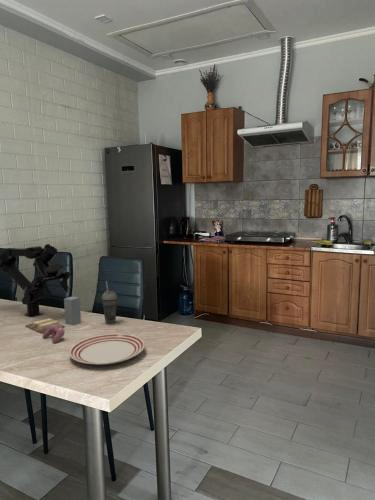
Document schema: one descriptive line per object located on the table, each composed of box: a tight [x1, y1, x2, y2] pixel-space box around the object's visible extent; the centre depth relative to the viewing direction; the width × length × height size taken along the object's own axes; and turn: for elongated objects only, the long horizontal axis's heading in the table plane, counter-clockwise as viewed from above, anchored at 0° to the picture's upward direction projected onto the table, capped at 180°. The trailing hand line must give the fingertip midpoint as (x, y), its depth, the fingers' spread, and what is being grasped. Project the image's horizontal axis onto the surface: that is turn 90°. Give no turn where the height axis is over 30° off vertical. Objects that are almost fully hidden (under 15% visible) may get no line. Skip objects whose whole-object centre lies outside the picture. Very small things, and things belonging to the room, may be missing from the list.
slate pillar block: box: [63, 295, 82, 326], centre depth 177 cm, size 5×5×12 cm
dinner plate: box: [68, 333, 146, 366], centre depth 140 cm, size 28×27×3 cm
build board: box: [25, 317, 65, 335], centre depth 172 cm, size 15×11×3 cm
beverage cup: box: [101, 280, 118, 325], centre depth 176 cm, size 7×7×20 cm
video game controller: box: [42, 325, 66, 344], centre depth 156 cm, size 10×5×7 cm, turn 47°
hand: (59, 293), depth 178 cm, fingers open, 9 cm apart
